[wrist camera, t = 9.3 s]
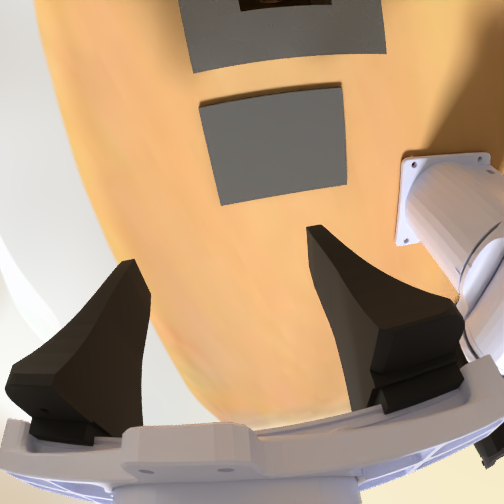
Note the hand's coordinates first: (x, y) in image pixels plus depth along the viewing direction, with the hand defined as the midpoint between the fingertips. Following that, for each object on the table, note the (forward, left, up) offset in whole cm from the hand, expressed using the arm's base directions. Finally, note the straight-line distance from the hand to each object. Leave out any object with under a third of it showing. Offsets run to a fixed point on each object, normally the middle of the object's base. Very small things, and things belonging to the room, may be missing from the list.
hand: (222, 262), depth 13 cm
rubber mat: (-4, -1, -10) cm, 11 cm away
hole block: (-5, -12, -10) cm, 16 cm away
